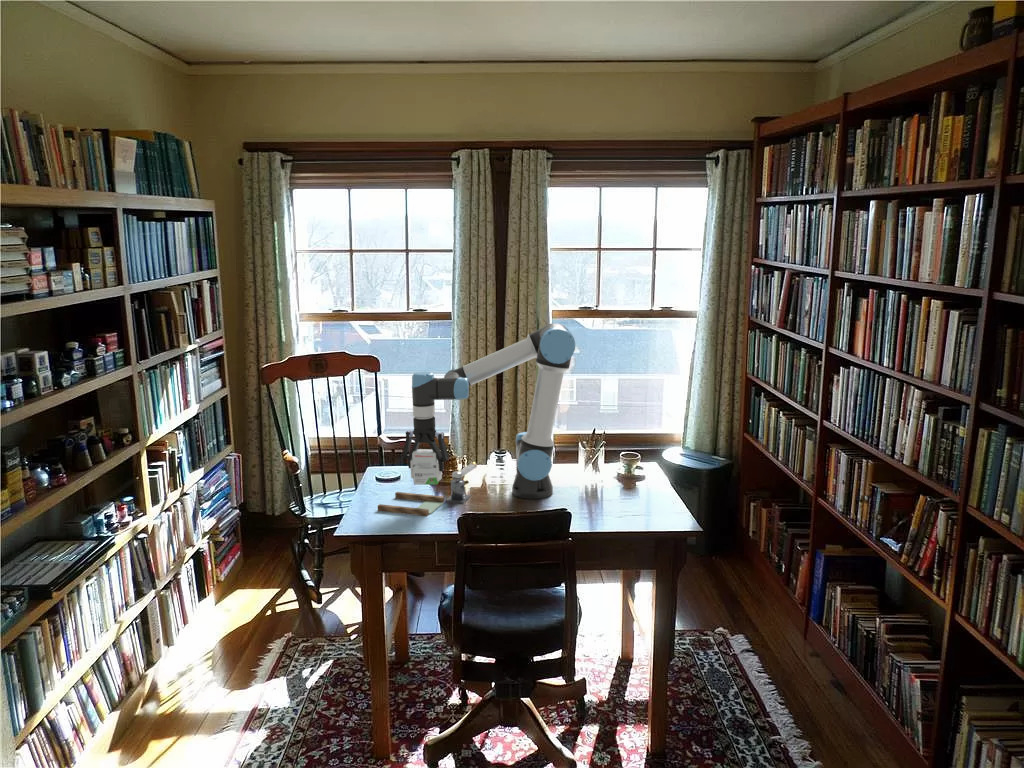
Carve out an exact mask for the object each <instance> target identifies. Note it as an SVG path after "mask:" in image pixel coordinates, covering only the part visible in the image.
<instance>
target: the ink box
mask: <svg viewBox="0 0 1024 768" xmlns="http://www.w3.org/2000/svg"><path fill="white" fill-rule="evenodd" d="M412 461H413V478H412V480H413V485H420V486H421V485H427V486H428V485H429V486H430V485H431V486H432V485H434V486H435V485H438V484H439V482H440V481H437V471H436V463H437V462H438V460H437V458H436V453H435V452H433V450H432V448H431V449H426V448H424V449H422V448H418V449H417V450H415V451H413V453H412Z"/></svg>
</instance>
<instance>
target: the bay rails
mask: <svg viewBox="0 0 1024 768" xmlns="http://www.w3.org/2000/svg"><path fill="white" fill-rule="evenodd" d="M394 494H395V495H394V497H395V499H396V500H397V499H399V500H408V501H418V502H425V501H432V502H442V503H443V504H444V503H445V496H443V495H441V496H440V495H433V494H423V493H413V492H412V493H410V492H401V491H396V492H395V493H394ZM377 512H384V513H392V514H403V515H412V516H421V517H428V516H429V515H430V514H429V509H421V508H417V507H408V506H400V505H390V504H381V503H379V504H378V505H377Z"/></svg>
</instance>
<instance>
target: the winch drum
mask: <svg viewBox="0 0 1024 768" xmlns="http://www.w3.org/2000/svg"><path fill="white" fill-rule="evenodd" d="M465 488H466V487H465V480H464V479H463V478H462V479H452V480H450V495H449V497H447V498H446V499H445V503H454V504H465V503H466V502H467V501H468V500H469V499H470V498H471V496H472V495H470V494H466V492H465V491H466V490H465Z"/></svg>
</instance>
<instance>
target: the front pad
mask: <svg viewBox="0 0 1024 768" xmlns="http://www.w3.org/2000/svg"><path fill="white" fill-rule="evenodd" d="M443 505H444V502H443V503H442V502H432V501H423V502H422V503H421V504H419V506H417V507H416V508H421V509H429V515H432V514H433V513H434V512H435V511H437V510H438V509H439V508H441V506H443Z"/></svg>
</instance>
